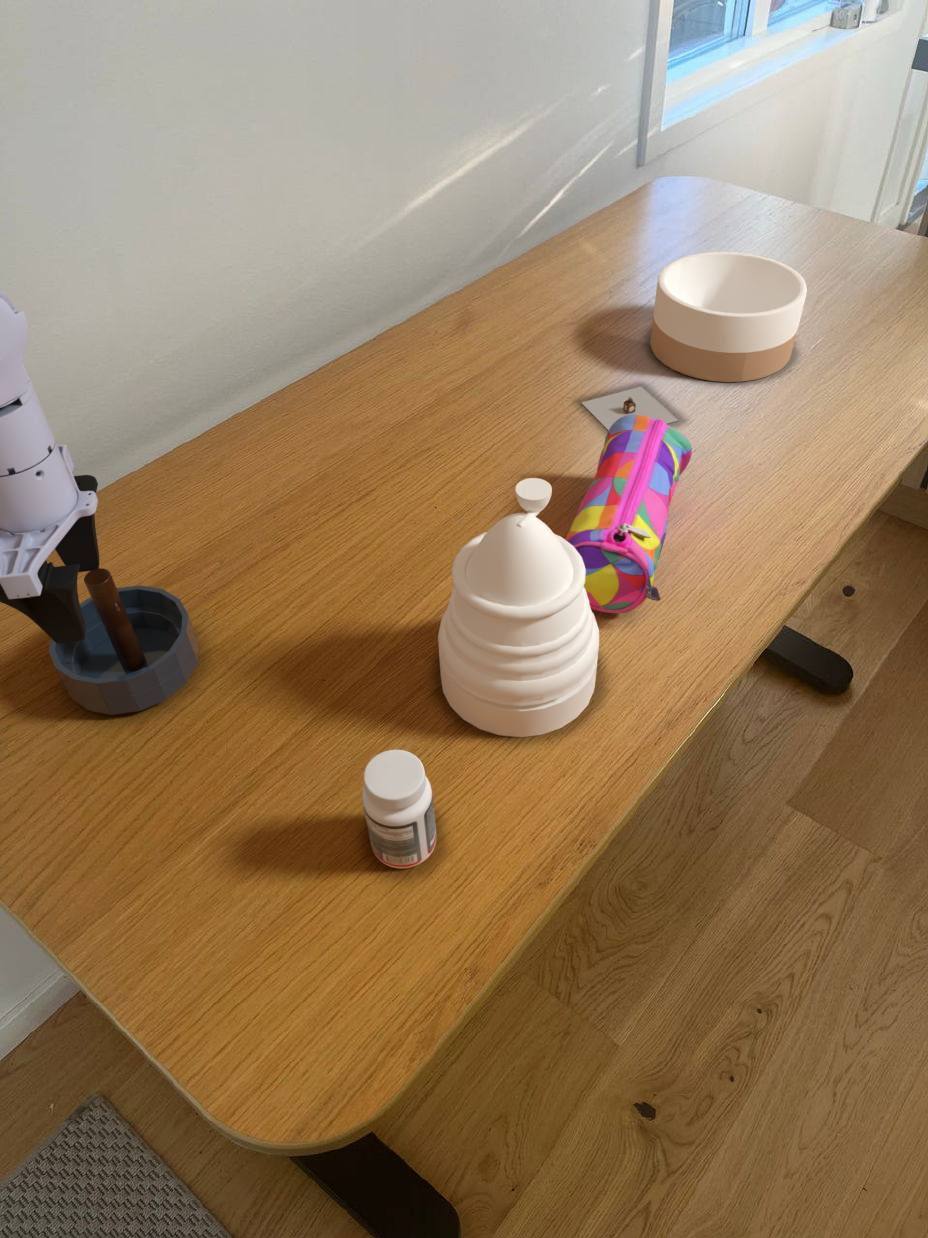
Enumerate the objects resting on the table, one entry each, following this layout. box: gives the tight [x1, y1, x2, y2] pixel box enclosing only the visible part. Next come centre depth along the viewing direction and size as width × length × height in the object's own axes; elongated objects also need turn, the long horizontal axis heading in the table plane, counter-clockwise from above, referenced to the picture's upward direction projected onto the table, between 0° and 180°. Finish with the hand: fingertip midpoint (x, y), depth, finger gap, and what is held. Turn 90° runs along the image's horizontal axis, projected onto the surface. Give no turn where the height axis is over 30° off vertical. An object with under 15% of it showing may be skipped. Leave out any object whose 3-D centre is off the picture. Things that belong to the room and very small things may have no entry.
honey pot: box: [437, 477, 600, 738], centre depth 70 cm, size 13×13×18 cm
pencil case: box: [564, 415, 693, 614], centre depth 84 cm, size 22×9×9 cm, turn 163°
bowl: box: [649, 251, 808, 383], centre depth 110 cm, size 17×17×8 cm
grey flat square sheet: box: [581, 386, 679, 432], centre depth 103 cm, size 8×8×2 cm
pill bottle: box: [361, 749, 438, 870], centre depth 62 cm, size 5×5×8 cm
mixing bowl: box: [48, 584, 200, 716], centre depth 76 cm, size 11×11×4 cm
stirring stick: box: [83, 567, 146, 672], centre depth 74 cm, size 2×2×10 cm
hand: (78, 602), depth 69 cm, fingers open, 7 cm apart
